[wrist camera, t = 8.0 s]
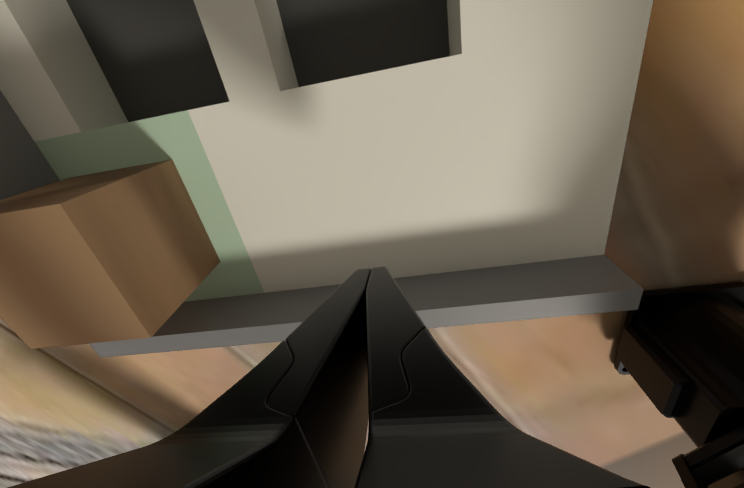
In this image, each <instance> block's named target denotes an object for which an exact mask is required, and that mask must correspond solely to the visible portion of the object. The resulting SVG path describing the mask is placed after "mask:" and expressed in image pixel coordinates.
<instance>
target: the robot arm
mask: <svg viewBox="0 0 744 488" xmlns="http://www.w3.org/2000/svg"><path fill="white" fill-rule="evenodd" d="M614 367H615V369H616V370H617V371H618V372H619V373H620V374H624V375H626V374H631V376H632V377H633V378H634V379H635V381H636V382H637V383H638V385H639V386H640V387H641V388H642V390H643V391H644V392H645V394H646V395H647V396H648V397H649V399H650V400H651V401H652V402H653V404H654V405H655V406H656V408H657V409H658V410H659V411H660V413H661V414H663V415H664V416H665V417H667V418H674V419H675V420H676V421H677V422H678V424H679V425H680V426H681V427H682V429H683V430H684V431H685V432H686V434H687V435H688V436H689V437H690V438H691V440H692V441H693V442H694V443H695V445H696V446H697V447H698V448H696V449H695V450H693V451H691V452H689V453H687V454H685V455H684V454H680V455H678V456H677V457H675V458H673V459H672V462H673V464H674V466H675V467H676V470H677V471H678V474H679V476H680V478H681V481H682V482H683V484H684V486H685V488H744V282H736V283H725V284H715V285H705V286H694V287H684V288H673V289H663V290H653V291H643V293H642V296H641V300H640V304H639V307H638V310H628V313H627V317H626V321H625V325H624V328H623V332H622V336H621V340H620V343H619V347H618V351H617V355H616V359H615V363H614ZM368 417H369V433H368V442H367V446H366V450H365V442H366V433H367V425H368ZM364 450H365V453H364ZM8 488H650V487H648V486H644V485H641V484H638V483H636V482H634V481H631V480H628V479H626V478H623V477H621V476H619V475H617V474H614V473H612V472H610V471H608V470H606V469H603V468H601V467H599V466H597V465H594V464H592V463H590V462H588V461H586V460H583V459H581V458H579V457H577V456H574V455H572V454H570V453H568V452H566V451H563V450H561V449H559V448H557V447H554V446H552V445H550V444H548V443H546V442H543V441H541V440H539V439H537V438H535V437H532V436H530V435H528V434H526V433H524V432H522V431H521V430H519V429H518V428H516V427H515V426H513V425H512V424H511V423H510V422H508V421H507V420H506V419H505V418H504V417H503V416H502V415H501V414H500V413H499V412H498V411H497V410H496V409H495V408H494V407H493V406H492V405H491V404H490V403H489V402H488V401H487V399H486V398H485V397H484V396H483V395H482V394H481V393H480V392H479V391H478V390H477V389H476V388H475V386H474V385H473V384H472V383H471V382H470V381H469V380H468V379H467V378H466V377H465V376H464V375H463V373H462V372H461V371H460V370H459V369H458V368H457V367H456V366H455V365H454V363H453V362H452V361H451V360H450V359H449V358H448V356H447V355H446V354H445V353H444V352H443V350H442V349H441V348H440V346H439V345H438V344H437V342H436V341H435V339H434V338H433V337H432V335H431V334H430V332H429V331H428V329H426V326H425V325H424V323H423V322H422V320H421V319H420V317H419V316H418V314H417V313H416V311H415V310H414V308H413V307H412V305H411V304H410V302H409V301H408V299H407V298H406V296H405V295H404V293H403V292H402V290H401V289H400V287H399V286H398V284H397V283H396V281H395V280H394V278H393V277H392V275H391V274H390V272H389V271H388V269H387V268H386V267H385V266H380V267H373V268H372V269H370V268H363V269H357V270H356V271H355V272H354V273H353V274H352V275H351V276H349V277H348V278H347V279H346V280H345V281H344V282H343V283H342V284H341V285H340V286H339V287H338V288H337V289H336V290H335V291H334V292H333V293H332V294H331V295H330V296H329V297H328V298H327V299H326V300H325V301H324V302H323V303H322V304H321V305H320V306H319V307H318V308H317V309H316V310H315V311H313V312H312V313H311V314H310V315H309V316H308V317H307V318H306V319H305V320H304V321H303V322H302V323H301V324H300V325H299V326H298V327H297V328H296V329H295V330H294V331H293V332H292V333H291V334H290V335H289V336H288V337H287V338H286V341H285V340H284V341H282V342H281V343H280V344H279V345H278V346H277V347H276V348H275V349H274V350H273V351H272V352H271V353H270V354H269V355H268V356H267V357H266V358H265V359H263V360H262V361H261V362H260V363H259V364H258V365H257V366H256V367H255V368H253V369H252V370H251V371H250V372H249V373H248V374H246V375H245V376H244V377H243V378H242V379H241V380H239V381H238V382H237V383H236V384H235V385H233V386H232V387H231V388H230V389H229V390H227V391H226V392H225V393H224V394H223V395H221V396H220V397H219V398H218V399H216V400H215V401H214V402H213V403H212V404H210V405H209V406H208V407H207V408H206V409H204V410H203V411H202V412H201V413H200V414H198V415H197V416H196V417H195V418H194V419H192V420H191V421H190V422H189V423H187V424H186V425H185V426H183V427H182V428H181V429H179V430H178V431H176V432H174V433H173V434H171V435H169V436H168V437H166V438H164V439H162V440H160V441H158V442H155V443H153V444H151V445H148V446H145V447H142V448H139V449H135V450H132V451H129V452H125V453H122V454H119V455H115V456H112V457H109V458H105V459H102V460H99V461H95V462H92V463H89V464H85V465H82V466H79V467H75V468H72V469H69V470H65V471H62V472H59V473H55V474H52V475H49V476H45V477H42V478H39V479H35V480H32V481H28V482H25V483H22V484H18V485H15V486H12V487H8Z"/></svg>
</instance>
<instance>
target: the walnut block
mask: <svg viewBox="0 0 744 488" xmlns="http://www.w3.org/2000/svg"><path fill="white" fill-rule="evenodd" d="M219 263H220V259H219V257H218V255H217V253H216V251H215V249H214V247H213V245H212V242H211V240H210V238H209V236H208V234H207V232H206V230H205V228H204V225H203V223H202V221H201V219H200V217H199V215H198V213H197V211H196V208H195V206H194V204H193V202H192V200H191V198H190V196H189V193H188V191H187V189H186V187H185V185H184V183H183V181H182V179H181V176H180V174H179V172H178V170H177V168H176V166H175V164H174V162H173V159H171V160H166V161H160V162H155V163H149V164H143V165H138V166H132V167H127V168H121V169H115V170H110V171H104V172H99V173H93V174H87V175H82V176H76V177H71V178H67V179H64V180H61V181H58V182H55V183H52V184H48V185H45V186H42V187H39V188H36V189H33V190H30V191H27V192H24V193H21V194H18V195H15V196H12V197H9V198H6V199H2V200H0V317H1V318H2V319H3V320H4V321H5V322H6V324H7V325H8V326H9V327H10V328H11V329H12V330H13V331H14V332H15V333H16V334H17V335H18V336H19V337H20V338H21V339H22V340H23V341H24V343H25V344H26V345H27V346H28V347H29V348H30V349H35V348H46V347H56V346H67V345H78V344H88V343H99V342H110V341H120V340H131V339H142V338H151V337H152V336H153V335H154V334H155V333H156V332H157V330H158V329H159V328H160V327H161V326H162V325H163V324H164V323H165V322H166V321H167V320H168V318H169V317H170V316H171V315H172V314H173V313H174V312H175V311H176V310H177V309H178V307H179V306H180V305H181V304H182V303H183V302H184V301H185V300H186V299H187V298H188V297H189V295H190V294H191V293H192V292H193V291H194V290H195V289H196V288H197V287H198V286H199V285H200V283H201V282H202V281H203V280H204V279H205V278H206V277H207V276H208V275H209V274H210V272H211V271H212V270H213V269H214V268H215V267H216V266H217V265H218V264H219Z"/></svg>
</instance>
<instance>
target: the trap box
mask: <svg viewBox="0 0 744 488" xmlns="http://www.w3.org/2000/svg"><path fill="white" fill-rule="evenodd" d="M652 4H653V0H0V200H2V199H6V198H9V197H12V196H15V195H18V194H21V193H24V192H27V191H30V190H33V189H36V188H39V187H42V186H45V185H48V184H52V183H55V182H58V181H61V180H64V179H67V178H71V177H76V176H82V175H87V174H93V173H99V172H104V171H110V170H115V169H121V168H127V167H132V166H138V165H143V164H149V163H155V162H160V161H166V160H171V159H173V162H174V164H175V166H176V168H177V170H178V172H179V174H180V176H181V179H182V181H183V183H184V185H185V187H186V189H187V191H188V193H189V196H190V198H191V200H192V202H193V204H194V206H195V208H196V211H197V213H198V215H199V217H200V219H201V221H202V223H203V225H204V228H205V230H206V232H207V234H208V236H209V238H210V240H211V242H212V245H213V247H214V249H215V251H216V253H217V255H218V257H219V259H220V263H219V264H218V265H217V266H216V267H215V268H214V269H213V270H212V271H211V272H210V274H209V275H208V276H207V277H206V278H205V279H204V280H203V281H202V282H201V283H200V285H199V286H198V287H197V288H196V289H195V290H194V291H193V292H192V293H191V294H190V295H189V297H188V298H187V299H186V300H185V301H184V302H183V303H182V304H181V305H180V306H179V307H178V309H177V310H176V311H175V312H174V313H173V314H172V315H171V316H170V317H169V318H168V320H167V321H166V322H165V323H164V324H163V325H162V326H161V327H160V328H159V329H158V330H157V332H156V333H155V334H154V335H153V336H152V337H151V338H142V339H131V340H120V341H110V342H99V343H89V344H90V346H91V347H92V348H93V349H94V350H95V352H96V353H97V354H98V355H99V356H100V358H102V357H113V356H124V355H135V354H146V353H158V352H169V351H180V350H191V349H202V348H214V347H225V346H236V345H247V344H258V343H270V342H281V341H284V340H285V341H286V338H287V337H288V336H289V335H290V334H291V333H292V332H293V331H294V330H295V329H296V328H297V327H298V326H299V325H300V324H301V323H302V322H303V321H304V320H305V319H306V318H307V317H308V316H309V315H310V314H311V313H312V312H313V311H315V310H316V309H317V308H318V307H319V306H320V305H321V304H322V303H323V302H324V301H325V300H326V299H327V298H328V297H329V296H330V295H331V294H332V293H333V292H334V291H335V290H336V289H337V288H338V287H339V286H340V285H341V284H342V283H343V282H344V281H345V280H346V279H347V278H348V277H349V276H351V275H352V274H353V273H354V272H355V271H356V270H357V269H363V268H370V269H372V268H373V267H380V266H385V267H386V268H387V269H388V271H389V272H390V274H391V275H392V277H393V278H394V280H395V281H396V283H397V284H398V286H399V287H400V289H401V290H402V292H403V293H404V295H405V296H406V298H407V299H408V301H409V302H410V304H411V305H412V307H413V308H414V310H415V311H416V313H417V314H418V316H419V317H420V319H421V320H422V322H423V323H424V325H425V326H426V328H437V327H449V326H460V325H471V324H482V323H493V322H504V321H516V320H527V319H538V318H549V317H560V316H572V315H583V314H594V313H605V312H616V311H627V310H638V307H639V304H640V300H641V296H642V293H643V288H642V287H641V286H640V285H639V284H638V283H636V282H635V281H634V280H633V279H632V278H631V277H630V276H628V275H627V274H626V273H625V272H624V271H623V270H621V269H620V268H619V267H618V266H617V265H616V264H615V263H613V262H612V261H611V260H610V259H609V258H608V257H606V256H605V255H604V253H605V248H606V242H607V237H608V232H609V227H610V222H611V217H612V211H613V206H614V201H615V196H616V191H617V185H618V180H619V175H620V170H621V165H622V160H623V154H624V149H625V144H626V139H627V134H628V128H629V123H630V118H631V113H632V108H633V103H634V97H635V92H636V87H637V82H638V77H639V72H640V66H641V61H642V56H643V51H644V46H645V40H646V35H647V30H648V25H649V20H650V15H651V9H652Z"/></svg>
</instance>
